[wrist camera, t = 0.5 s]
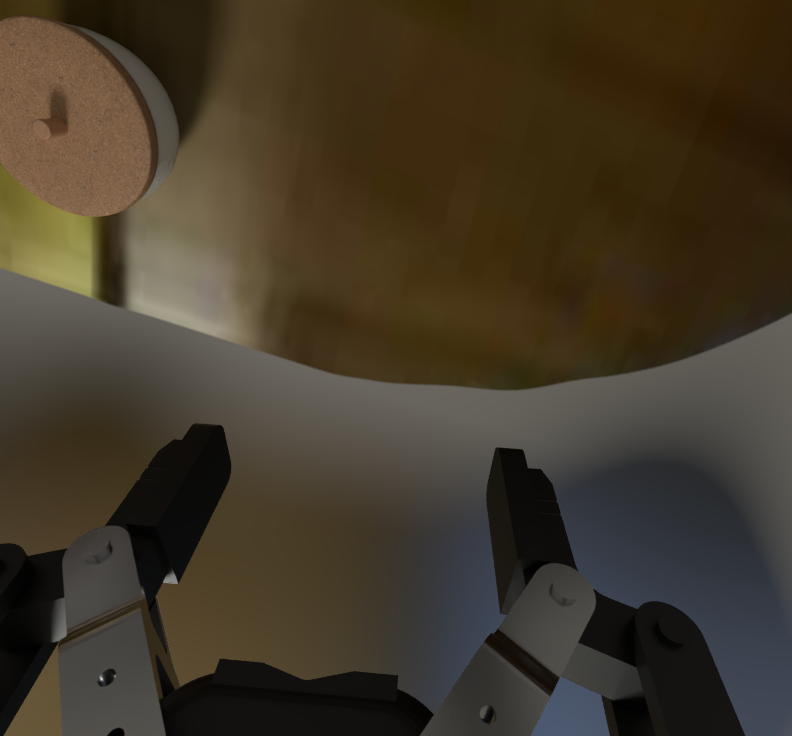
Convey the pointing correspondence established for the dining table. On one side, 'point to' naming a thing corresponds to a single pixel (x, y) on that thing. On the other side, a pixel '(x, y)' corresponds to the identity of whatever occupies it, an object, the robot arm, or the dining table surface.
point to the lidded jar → (81, 117)
